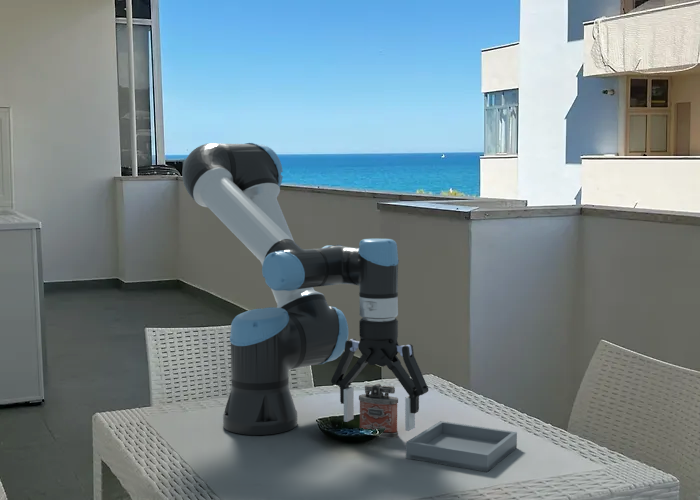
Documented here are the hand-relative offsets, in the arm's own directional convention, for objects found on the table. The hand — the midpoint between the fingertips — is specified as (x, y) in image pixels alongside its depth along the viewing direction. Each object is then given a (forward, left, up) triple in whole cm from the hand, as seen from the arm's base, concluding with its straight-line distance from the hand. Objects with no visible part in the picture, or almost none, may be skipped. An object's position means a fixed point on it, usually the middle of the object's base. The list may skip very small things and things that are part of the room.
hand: (378, 424), depth 183 cm
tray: (+19, -3, -2) cm, 19 cm away
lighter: (0, 0, -2) cm, 2 cm away
